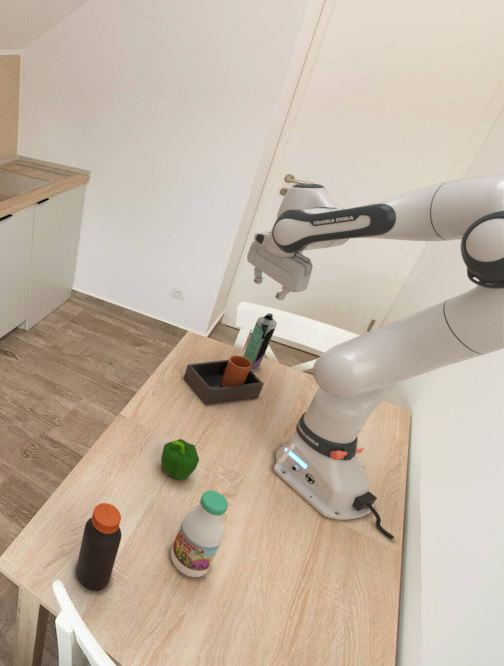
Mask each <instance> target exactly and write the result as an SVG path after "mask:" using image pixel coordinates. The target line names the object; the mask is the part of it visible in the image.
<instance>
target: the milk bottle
mask: <svg viewBox="0 0 504 666" xmlns="http://www.w3.org/2000/svg"><path fill="white" fill-rule="evenodd" d="M228 506H229V502H228V500H227V499H226V497H225V496H224V495H223V494H222V493H220V492H218V491H216V490H206V491H204V492H203V493H202V495H201V497H200V500H199V503H198V505H196V506H194V507H192V508H191V509H190V510H189V511H188V512H187V513H186V514H185V515H184V517H183V519H182V521H181V523H180V526H179V528H178V531H177V533H176V536H175V539H174V541H173V544H172V547H171V550H170V558H171V561H172V563H173V565H174V567H175V568H176V569H177V570H178V571H179V572H180V573H182V574H183V575H185V576H187V577H191V578H198V577H203V576H205V575H206V574H207V573H208V571H209V570H210V568H211V566H212V564H213V561H214V560H215V557H216V555H217V553H218V551H219V550H220V547H221V545H222V542H223V539H224V536H225V523H224V519H223V516H225V514H226V512H227V509H228Z"/></svg>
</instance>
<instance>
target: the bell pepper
mask: <svg viewBox="0 0 504 666" xmlns="http://www.w3.org/2000/svg"><path fill="white" fill-rule="evenodd" d="M160 459H161V460H160V461H161V467H162V470H163V472H164V474H166V475H167V476H169V477H172V478H173V479H174V480H176V481H183V480H186V479H188V478H189V477H190V476H191V475H193V473H194V472H195V470H196V469H197V467H198V464H199V461H200V457H199V455H198V451H197V448H196V445H195V444H193V443H189V442H187V441H186V440H184V439H182V438H179V439H176V440H172V441H169V442H166V443H165V444H164V445H163V450H162V453H161V458H160Z"/></svg>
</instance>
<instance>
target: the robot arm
mask: <svg viewBox="0 0 504 666" xmlns="http://www.w3.org/2000/svg"><path fill="white" fill-rule="evenodd" d="M350 239H380V240H381V239H382V240H396V241H412V242H446V241H447V242H448V241H458V240H461V241H460V254H461V258H462V260H463V262H464V264H465V266H466V275H467V278H468V279H469V281H470V282H471V283H473V284H475V285H476V286H475V287H473V288H472V289H470V290H468V291H466V292H465V291H464V292H463V293H460V294H459V295H456V296H453V297H451V298H448V299H445V300H444V301H441V302H439V303H436V304H433V305H431V306H429V307H425V308H424V309H421V310H419V311H416V312H414V313H412V314H409V315H407V316H405V317H402V318H400V319H397V320H395V321H393V322H392V321H391V322H390V323H388V324H385V325H383V326H380V327H377V328H376V329H373V330H371V331H367V332H366V333H363V334H360V335H358V336H356V337H353V338H351V339H348V340H346V341H343V342H341V343H339V344H336V345H334V346H332V347H330V348H329V349H327V350H326V351H324V352H323V353H322V354H321V355H320V356H319V357H318V358H317V359H316V360H315V362H314V363H313V367H312V374H313V378H314V381H315V383H316V385H318V387H319V388H318V389H317V390H316V392H315V393H314V396H313V397H312V398H311V401H310V402H309V404H308V407H307V409H306V410H305V412H303V413H302V414H301V416H300V418H299V420H298V421H297V423H296V425H295V430H294V431H293V433H292V435H291V436H290V437H289V438H288V439H287V441H286V442H285V443H284V444H283V445H282V446H280V447H279V448H278V449H277V450H276V453H275V464H274V466H273V468H272V470H273V472H274V473H275V474H276V475H277V476H279V478H281V480H283V481H284V482H285V483H286V484H287V485H288V486H289V487H291V488H292V489H293V491H295V492H296V493H297V494H299V496H300V497H302V498H303V499H304V500H305V501H306V502H307V503H309V505H311V506H312V507H313V509H315V510H316V511H317V512H318V513H320V514H321V515H322V516H324V517H325V518H329V519H332V520H341V521H342V520H343V521H345V520H346V521H348V520H349V521H350V520H354V519H355V520H356V519H359V518H363V517H365V516H368V515H369V514H370V513H371V512H372V514H373V515H374V517H375V526H376V528H377V529H378V531H380V532H381V533H382V534H383V535H385V536H386V537H388V538H389V539H391V540H393V539H394V538H395V536H394V535H393V534H391V533H390V532H388V531H387V530H386V529H384V528H383V527H382V525H381V522H382V518H381V516H380V515H379V513H378V511H377V510H376V508H375V502H376V501H377V499H378V497H377V496H376V495H375V494H373V492H370V491H369V490H370V480H369V479H368V477H367V475H366V469H365V467H364V466H363V465H362V464H361V462H360V460H359V458H358V455H357V454H361V453H363V452H364V450H365V448H364V447H362V448H358V440H359V439H358V437H359V434H360V433H361V431H362V430H363V428H364V426H365V425H366V423H367V422H368V420H369V418H370V417H371V415H372V414H373V413H374V412H375V410H377V408H378V407H380V405H381V404H382V403H383V402H384V400H386V398H387V397H388V396H389V395H390V394H391V392H392V391H393V390H394V389H395V388H396V387H397V385H398V384H399V383H401V382H403V381H406V380H409V379H412V378H415V377H419V376H422V375H424V374H426V373H429V372H432V371H435V370H438V369H442V368H444V367H448V366H450V365H454V364H457V363H461V362H464V361H467V360H471V359H474V358H477V357H481V356H485V355H487V354H490V353H494V352H497V351H500V350H502V349H504V175H484V176H483V175H482V176H473V177H466V178H459V179H458V178H457V179H453V180H447V181H442V182H438V183H434V184H431V185H426V186H422V187H419V188H416V189H412V190H410V191H406V192H404V193H400V194H397V195H394V196H390V197H387V198H384V199H381V200H378V201H374V202H371V203H367V204H364V205H360V206H355V207H349V208H343V207H341V206H340V205H339V204H338V203H337V202H335V201H334V200H333V199H332V198H331V196H330V195H329V194H328V191H327V188H326V187H325V186H324V185H323V184H319V183H297V184H294V185H291V186H290V188H288V190H287V191H286V193H285V194H284V197H283V198H282V201H281V203H280V206H279V208H278V211H277V214H276V220H275V222H274V224H273V226H272V228H271V231H260V232H255V233H254V235H253V241H252V242H251V244H250V247H249V249H248V252H247V256H246V259H247V263H249V264H250V265H252V266H253V273H254V278H253V282H254V283H255V284H256V285H261V284H262V283H263V281H264V277H263V274H264V275H266V276H268V277H269V278H271V279H272V280H274V281H275V282H277V283H278V284H280V285H281V289H282V290H281V291H277V292H276V294H275V298H276V299H277V300H278V301H284V300H285V298H286V296H287V295H288V294H290V293H302V292H304V291H306V290H307V288H308V286H309V284H310V280H311V276H312V271H313V268H314V264H313V263H312V261H311V260H312V259H310V258H309V257H308V256H305V255H304V254H303V253H304V251H312V250H318V249H319V250H320V249H321V250H322V249H328V248H334V247H339V246H342V245H344V244H345V243H347V242H348V241H349V240H350Z"/></svg>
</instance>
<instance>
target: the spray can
mask: <svg viewBox="0 0 504 666" xmlns="http://www.w3.org/2000/svg"><path fill="white" fill-rule="evenodd" d="M273 316H274V314H273V313H269V312H268V313H267V314H266V315H263V316H260V317H258V318H257V320H256V322H255V324H254V327H253V330H252V333H251V335H250V338H249V341H248V342H247V345H246V348H245V351H244V353H243V356H242V357H245V358H247V359H248V360H249V361H250V362H251V363H252V366H251V368H250V371H251V372H258V370H259V368H260V366H261V364H262V361H263V359H264V356H265V354H266V351H267V350H268V347H269V345H270V343H271V340H272V337H273V335H274V333H275V330H276V327H277V324H278V323H277V321H276V320H275V319H274V318H273Z"/></svg>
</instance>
